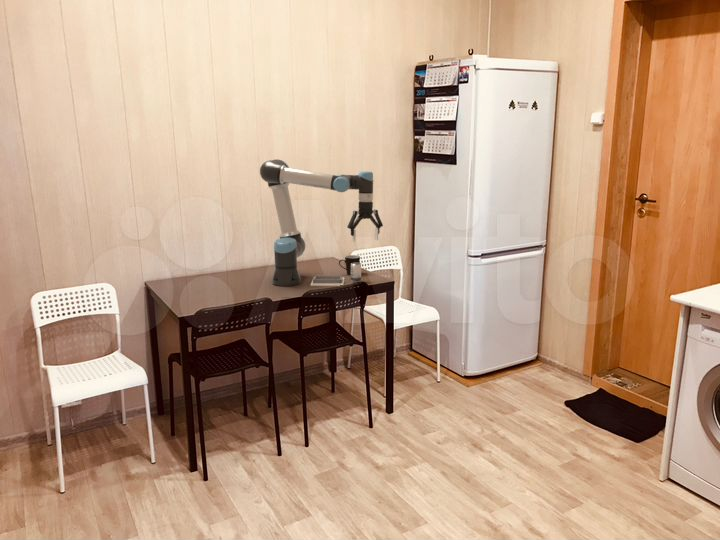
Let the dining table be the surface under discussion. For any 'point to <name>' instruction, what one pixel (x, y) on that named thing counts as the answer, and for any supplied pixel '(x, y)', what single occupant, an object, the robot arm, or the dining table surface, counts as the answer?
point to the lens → (355, 272)
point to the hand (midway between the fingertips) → (365, 240)
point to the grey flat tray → (327, 281)
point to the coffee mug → (349, 260)
